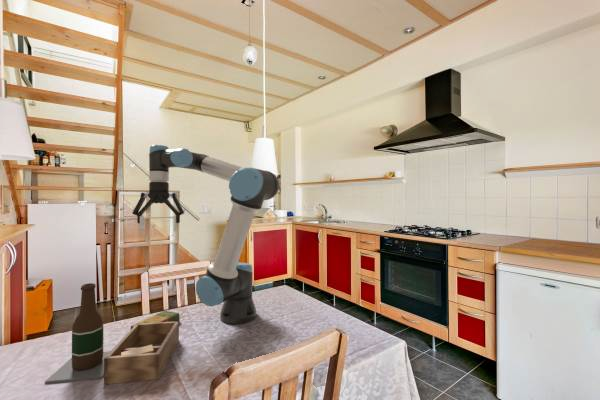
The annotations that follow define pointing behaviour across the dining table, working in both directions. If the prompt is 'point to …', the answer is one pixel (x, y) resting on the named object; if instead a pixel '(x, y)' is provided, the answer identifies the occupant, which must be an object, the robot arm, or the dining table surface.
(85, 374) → the plate
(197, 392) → the dining table surface
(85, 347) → the beer bottle
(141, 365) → the wooden box
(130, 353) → the offcut upper
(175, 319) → the carton
